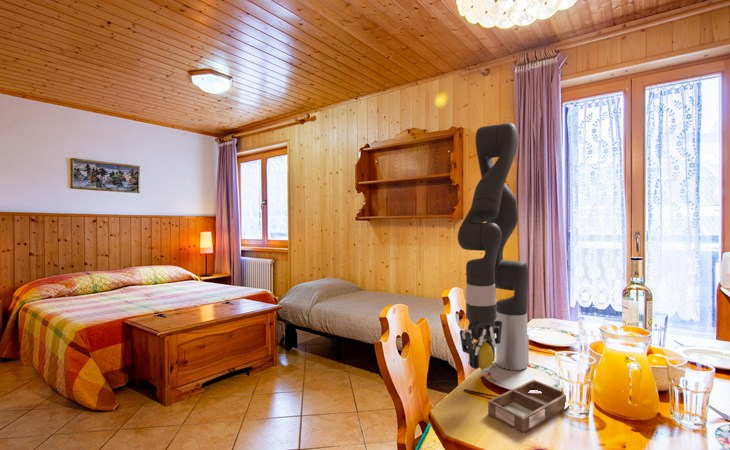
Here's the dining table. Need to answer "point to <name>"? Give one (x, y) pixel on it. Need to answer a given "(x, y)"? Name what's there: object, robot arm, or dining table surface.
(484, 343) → the lemon
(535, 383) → the tray
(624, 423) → the dining table surface
